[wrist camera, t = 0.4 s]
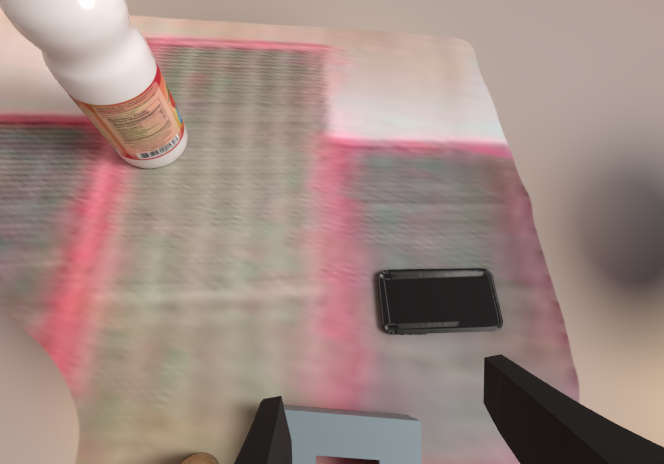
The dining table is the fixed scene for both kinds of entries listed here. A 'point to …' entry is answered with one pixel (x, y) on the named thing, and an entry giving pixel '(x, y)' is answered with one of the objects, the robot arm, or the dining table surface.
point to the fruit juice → (106, 74)
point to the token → (200, 459)
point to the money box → (353, 435)
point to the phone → (438, 301)
